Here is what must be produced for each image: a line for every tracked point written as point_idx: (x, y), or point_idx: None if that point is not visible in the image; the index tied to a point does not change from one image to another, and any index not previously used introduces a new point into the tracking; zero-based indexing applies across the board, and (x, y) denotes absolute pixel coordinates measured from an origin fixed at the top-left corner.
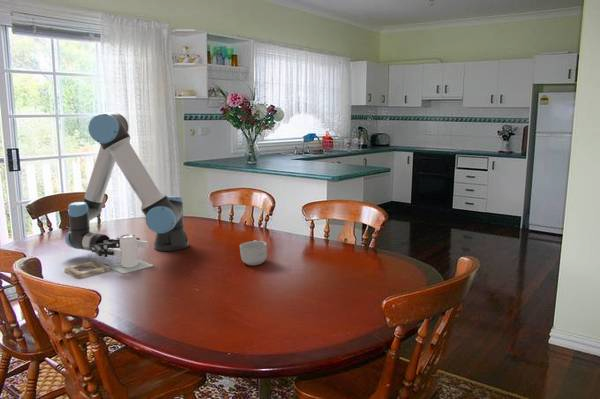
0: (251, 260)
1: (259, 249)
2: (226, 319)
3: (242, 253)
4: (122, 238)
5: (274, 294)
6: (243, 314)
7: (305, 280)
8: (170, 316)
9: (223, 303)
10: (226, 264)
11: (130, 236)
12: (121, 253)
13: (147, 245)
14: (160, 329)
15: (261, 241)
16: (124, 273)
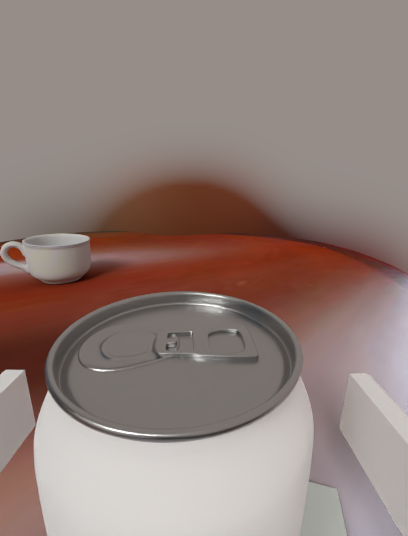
0: (90, 263)
1: (83, 239)
2: (285, 255)
3: (80, 256)
4: (291, 344)
5: (200, 252)
6: (264, 253)
7: (142, 250)
8: (336, 272)
9: (257, 262)
10: (74, 296)
11: (141, 337)
12: (347, 400)
13: (22, 401)
14: (363, 268)
15: (32, 237)
16: (323, 488)
